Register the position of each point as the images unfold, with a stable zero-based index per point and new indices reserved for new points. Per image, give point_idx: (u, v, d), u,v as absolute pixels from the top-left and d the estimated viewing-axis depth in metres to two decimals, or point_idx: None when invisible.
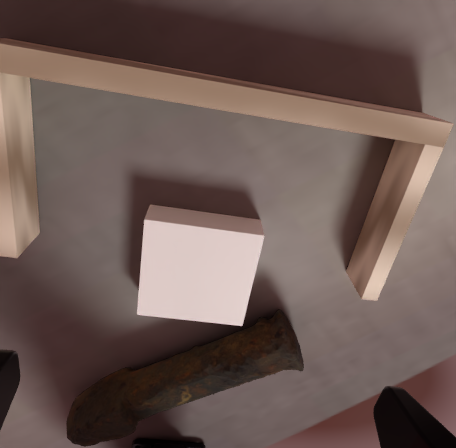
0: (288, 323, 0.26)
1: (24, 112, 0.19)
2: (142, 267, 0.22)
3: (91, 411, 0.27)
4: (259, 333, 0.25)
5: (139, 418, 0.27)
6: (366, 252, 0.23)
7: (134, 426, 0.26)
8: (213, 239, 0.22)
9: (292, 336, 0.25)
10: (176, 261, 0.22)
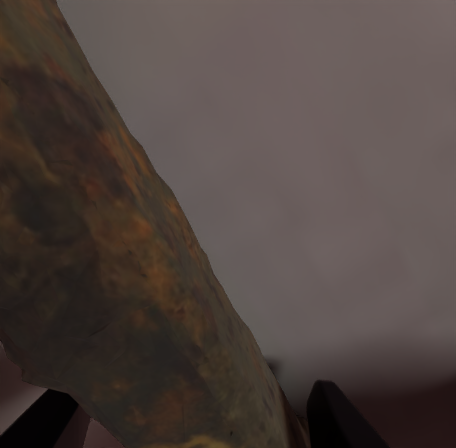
0: None
1: None
2: None
3: None
4: None
5: None
6: None
7: None
8: None
9: None
10: None
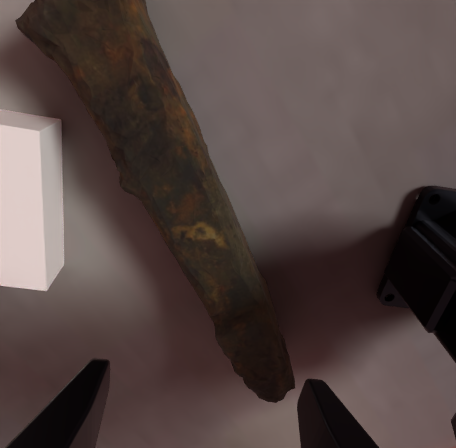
0: None
1: None
2: None
3: None
4: None
5: (251, 307, 0.15)
6: None
7: (254, 321, 0.15)
8: None
9: None
10: None
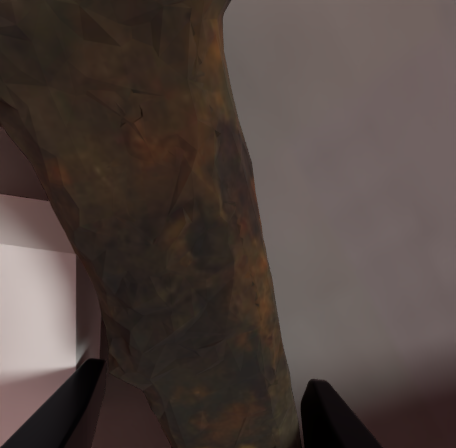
0: None
1: None
2: None
3: None
4: None
5: None
6: None
7: None
8: None
9: None
10: None
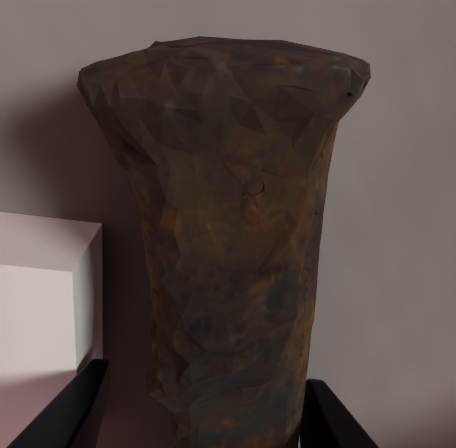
0: (151, 47, 0.06)
1: None
2: None
3: None
4: None
5: None
6: None
7: None
8: None
9: (156, 48, 0.05)
10: None
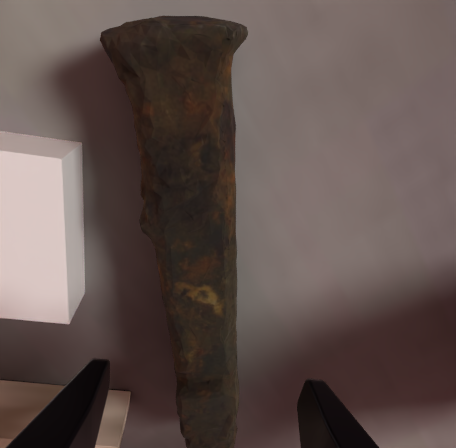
0: None
1: None
2: None
3: None
4: None
5: (221, 375, 0.15)
6: None
7: (221, 392, 0.14)
8: None
9: (138, 20, 0.10)
10: None
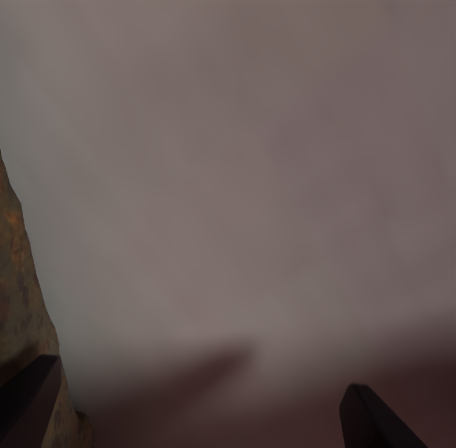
0: None
1: None
2: None
3: None
4: None
5: None
6: None
7: None
8: None
9: None
10: None
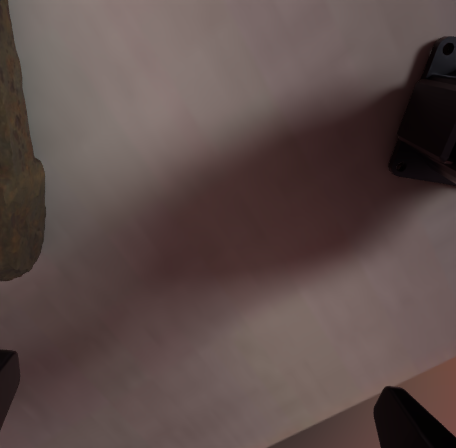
0: None
1: None
2: None
3: None
4: None
5: None
6: None
7: None
8: None
9: None
10: None
